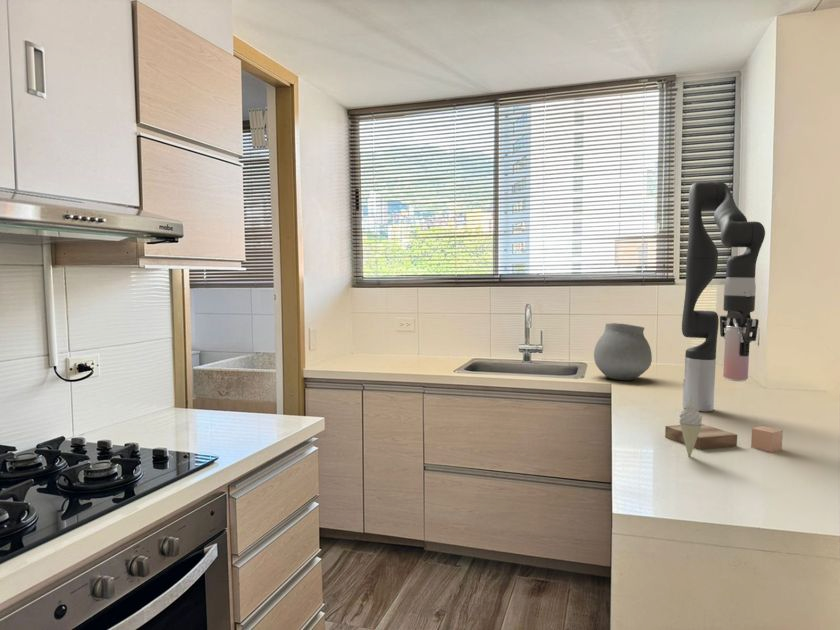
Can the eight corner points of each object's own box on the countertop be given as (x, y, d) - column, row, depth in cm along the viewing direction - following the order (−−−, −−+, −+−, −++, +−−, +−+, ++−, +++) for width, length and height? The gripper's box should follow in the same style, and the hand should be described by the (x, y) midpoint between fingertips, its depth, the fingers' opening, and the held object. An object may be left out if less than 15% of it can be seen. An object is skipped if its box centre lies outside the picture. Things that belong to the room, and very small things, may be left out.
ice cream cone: (674, 456, 134) (677, 394, 133) (682, 451, 138) (685, 391, 137) (696, 460, 130) (699, 397, 130) (704, 456, 134) (706, 394, 133)
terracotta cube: (751, 447, 143) (751, 428, 143) (760, 444, 146) (761, 425, 145) (771, 452, 139) (772, 432, 138) (781, 449, 141) (782, 430, 141)
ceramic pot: (657, 384, 235) (659, 325, 234) (597, 382, 239) (599, 324, 238) (643, 376, 259) (645, 322, 258) (589, 373, 263) (591, 321, 262)
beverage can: (725, 377, 160) (728, 325, 159) (749, 379, 156) (752, 326, 155) (721, 379, 155) (723, 326, 154) (745, 382, 151) (748, 327, 150)
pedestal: (665, 436, 151) (665, 426, 151) (700, 434, 155) (700, 423, 155) (699, 449, 140) (700, 437, 140) (736, 446, 144) (737, 434, 143)
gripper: (711, 293, 161) (708, 351, 162) (742, 294, 147) (739, 358, 148) (736, 293, 161) (733, 351, 162) (770, 295, 147) (766, 358, 148)
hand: (736, 354), depth 155 cm, fingers closed on beverage can, 6 cm apart
